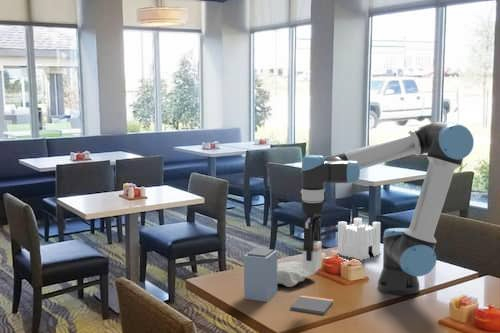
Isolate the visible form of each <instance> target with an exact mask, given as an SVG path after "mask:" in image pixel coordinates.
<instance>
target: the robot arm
mask: <svg viewBox="0 0 500 333" xmlns="http://www.w3.org/2000/svg"><path fill="white" fill-rule="evenodd" d="M473 149H474V137H473V134H472V132H471V131H470V130H469V129H468V128H467V127H466V126H464V125H462V124H459V123H455V122H445V121H435V122H431V123H429V124H426V125H422V126H420V127H416V128H415V129H411V130H409V131H408V133H406V134H403V135H399V136H397V137H393V138H390V139H387V140H382V141H380V142H377V143H373V144H369V145H367V146H363V147H360V148H357V149H352V150H349V151H346V152H343V153H340V154H335V155H333V154H332V155H326V156H325V157H324V155H318V154H317V155H316V154H309V155H304V156H303V157H302V159H301V190H300V192H299V193H300V194H301V200H302V201H301V212H302V213H303V214H306V217H305V220H304V221H303V223H302V225H303V243H304V248H303V247H302V252H303V251H306V269H308V270H314V251H313V243H314V241H322V240H321V239H322V237H321V236H322V231H321V230H322V215H321V214H322V213H324V209H325V208H324V206H325V204H324V200H325V187H324V185H325V184H351V183H357V182H358V181H359V179H360V174H361V170H364V169H367V168H371V167H374V166H376V165H377V166H378V165H380V164H383V163H388V162H391V161H395V160H398V159H400V158H404V157H408V156H411V155H415V156H422V155H426V158H427V159H428V162H429V163H428V167H427V170H426V174H425V177H424V180H423V183H422V186H421V189H420V192H419V195H418V198H417V202H416V206H415V208H414V212H413V213H412V214H413V215H412V217H411V221H410V224H409V226H408V227H394V228H387V229H385V230H384V232H383V237H382V239H383V251H382V252H383V260H382V261H383V262H382V264H383V265H382V268H381V269H382V270H381V273H380V275H379V278H378V281H377V288H378V289H379V290H380V291H381V292H383V293H387V294H389V295H390V294H391V295H397V296H409V295H414V294H415V295H416V294H417V293H419V291H420V281H419V278H418V277H423V276H425V275H427V274H430V273H431V272H432V271H433V270H434V268H435V266H436V263H437V254H436V252H435V248H436V244H437V239H436V238H435V233H436V229H437V226H438V223H439V220H440V217H441V214H442V211H443V208H444V205H445V201H446V198H447V195H448V191H449V188H450V186H451V182H452V179H453V176H454V173H455V171H456V170H457V169H458V168H460V167H461V166H462V165H463V164H462V163H463V160H464V158H466V157H467V156H469V155H470V154H471V153H472V150H473Z"/></svg>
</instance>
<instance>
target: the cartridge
mask: <svg viewBox="0 0 500 333" xmlns="http://www.w3.org/2000/svg"><path fill="white" fill-rule="evenodd" d="M303 248H304V242H302V249H303ZM322 248H323V244H322V240H321V241H314V243H313V251H314V270H316V271H317V270H318V271H319V269H321V267H322ZM302 253H303V254H302V263H303V269H306V251H303V250H302ZM307 270H308V269H307ZM318 271H317V272H318Z"/></svg>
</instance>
